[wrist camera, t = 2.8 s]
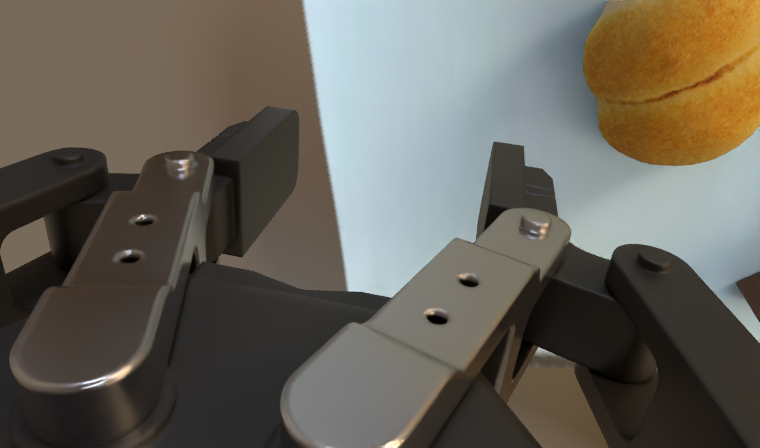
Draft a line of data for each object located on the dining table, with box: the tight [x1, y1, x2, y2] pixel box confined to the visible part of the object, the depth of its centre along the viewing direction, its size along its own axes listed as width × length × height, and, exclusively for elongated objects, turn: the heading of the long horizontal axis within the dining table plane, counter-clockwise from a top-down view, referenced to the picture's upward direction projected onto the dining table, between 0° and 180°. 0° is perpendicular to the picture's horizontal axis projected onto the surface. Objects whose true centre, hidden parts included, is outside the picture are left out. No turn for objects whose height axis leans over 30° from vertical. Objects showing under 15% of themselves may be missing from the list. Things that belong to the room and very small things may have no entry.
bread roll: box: [583, 0, 760, 166], centre depth 27 cm, size 8×9×4 cm
